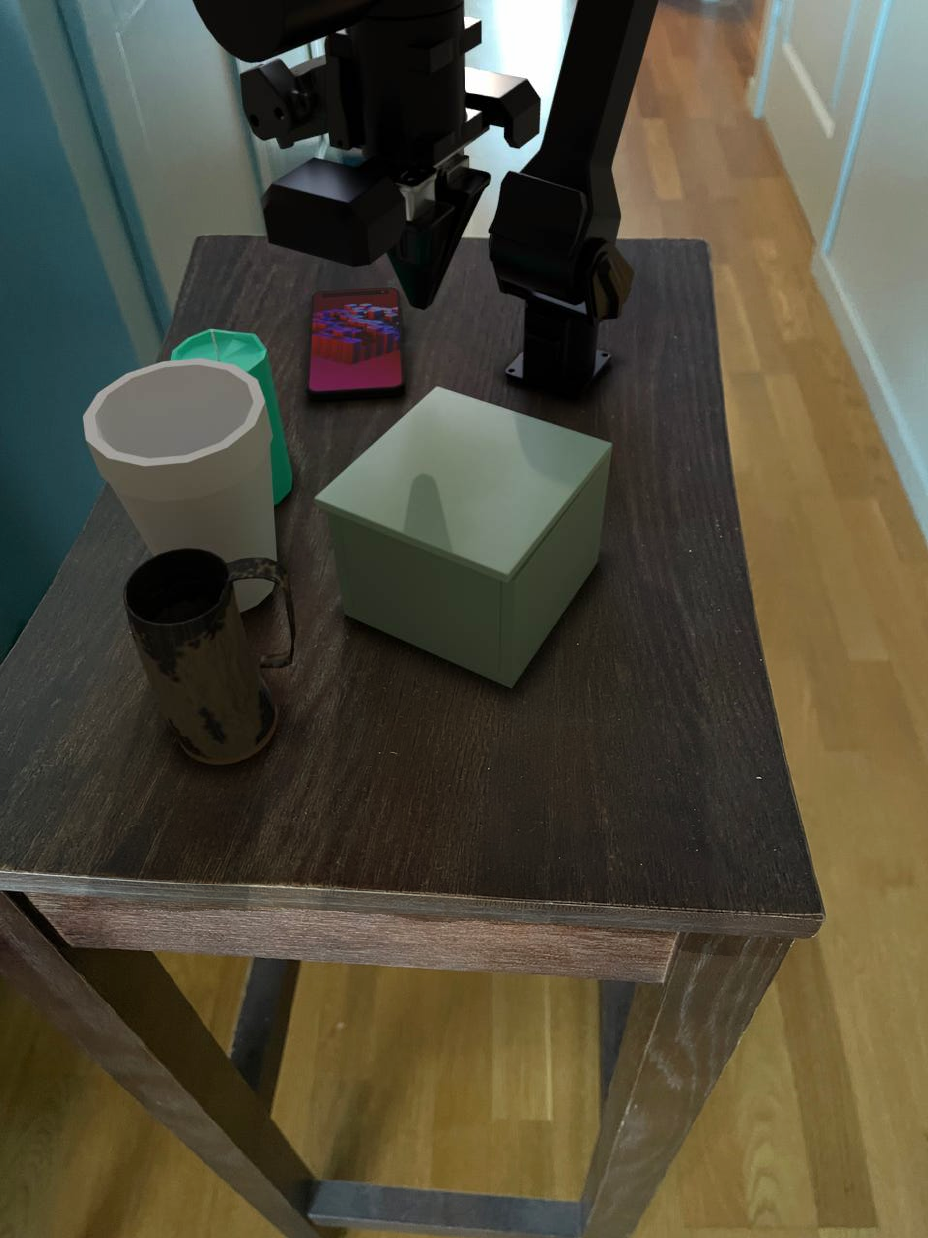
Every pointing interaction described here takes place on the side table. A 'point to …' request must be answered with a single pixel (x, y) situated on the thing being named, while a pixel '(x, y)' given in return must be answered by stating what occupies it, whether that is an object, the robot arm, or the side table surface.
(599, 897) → the side table surface
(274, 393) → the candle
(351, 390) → the smartphone
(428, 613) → the green bin
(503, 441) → the bin lid
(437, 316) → the side table surface
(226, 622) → the mug
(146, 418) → the foam cup
